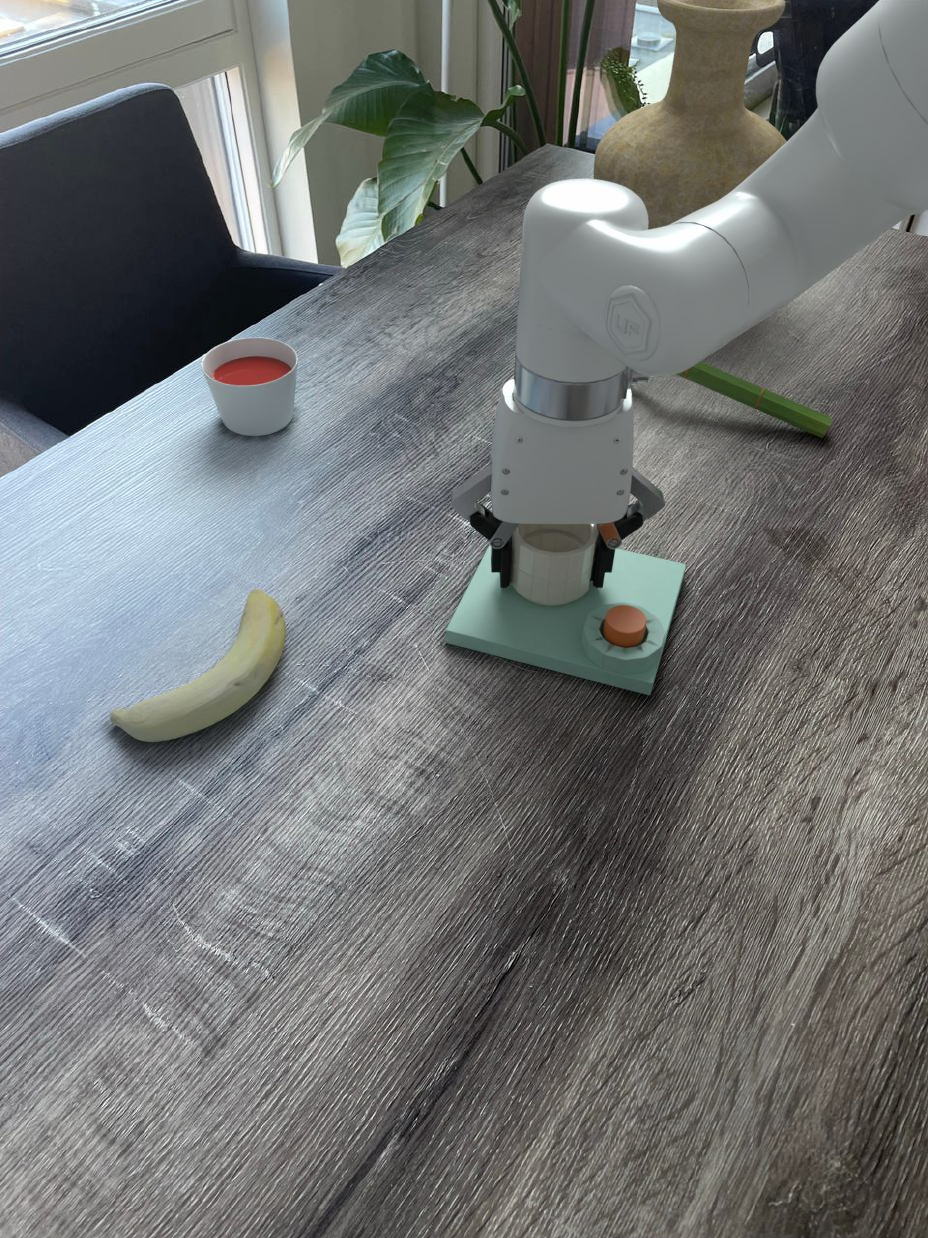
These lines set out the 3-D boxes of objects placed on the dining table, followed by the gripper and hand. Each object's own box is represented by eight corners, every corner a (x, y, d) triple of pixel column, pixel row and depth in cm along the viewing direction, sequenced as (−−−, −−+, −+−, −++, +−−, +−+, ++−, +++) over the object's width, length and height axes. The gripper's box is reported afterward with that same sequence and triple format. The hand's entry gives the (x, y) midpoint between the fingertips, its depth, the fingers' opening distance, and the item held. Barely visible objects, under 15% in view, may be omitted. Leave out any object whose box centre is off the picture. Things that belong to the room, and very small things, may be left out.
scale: (683, 576, 83) (690, 548, 81) (650, 696, 73) (656, 668, 71) (500, 534, 86) (501, 506, 84) (445, 643, 77) (445, 615, 75)
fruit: (327, 645, 77) (323, 614, 74) (179, 773, 68) (170, 742, 65) (259, 607, 80) (253, 576, 77) (109, 725, 71) (97, 693, 68)
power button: (647, 625, 75) (650, 610, 74) (639, 652, 73) (642, 637, 72) (608, 615, 76) (610, 600, 74) (599, 642, 73) (601, 627, 72)
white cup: (599, 565, 82) (606, 512, 78) (579, 618, 77) (586, 564, 73) (521, 547, 83) (525, 494, 79) (497, 598, 79) (500, 544, 75)
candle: (225, 452, 95) (214, 394, 90) (202, 404, 100) (191, 347, 96) (315, 431, 97) (309, 374, 93) (288, 386, 103) (281, 330, 99)
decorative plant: (827, 438, 94) (539, 312, 98) (791, 494, 101) (524, 374, 105) (842, 398, 97) (563, 278, 101) (806, 455, 104) (547, 341, 108)
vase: (785, 321, 115) (862, 26, 94) (590, 317, 115) (623, 21, 94) (747, 238, 131) (805, -29, 110) (576, 235, 131) (601, -34, 110)
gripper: (688, 351, 70) (651, 546, 83) (440, 349, 70) (441, 546, 82) (708, 409, 65) (665, 609, 77) (440, 408, 64) (441, 609, 77)
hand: (550, 575), depth 80 cm, fingers closed on white cup, 6 cm apart
